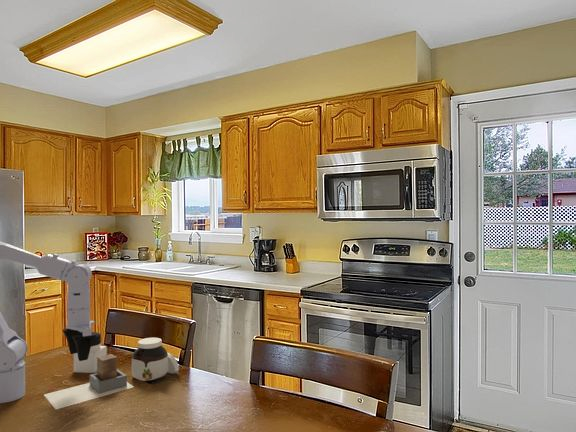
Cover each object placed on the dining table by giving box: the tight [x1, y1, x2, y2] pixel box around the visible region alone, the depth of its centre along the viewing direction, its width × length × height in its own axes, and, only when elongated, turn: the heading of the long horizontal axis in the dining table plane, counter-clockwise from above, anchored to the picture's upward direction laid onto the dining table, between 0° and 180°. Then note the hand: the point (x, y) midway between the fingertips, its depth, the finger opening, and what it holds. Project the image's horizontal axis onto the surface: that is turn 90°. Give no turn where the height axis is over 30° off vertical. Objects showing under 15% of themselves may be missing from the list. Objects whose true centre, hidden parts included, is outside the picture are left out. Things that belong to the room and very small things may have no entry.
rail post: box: [96, 353, 118, 381], centre depth 121 cm, size 4×4×8 cm
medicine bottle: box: [73, 331, 108, 374], centre depth 135 cm, size 7×7×12 cm
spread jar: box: [131, 337, 179, 384], centre depth 130 cm, size 12×11×12 cm
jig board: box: [43, 368, 135, 410], centre depth 117 cm, size 20×12×4 cm, turn 133°
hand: (78, 356), depth 118 cm, fingers open, 7 cm apart
